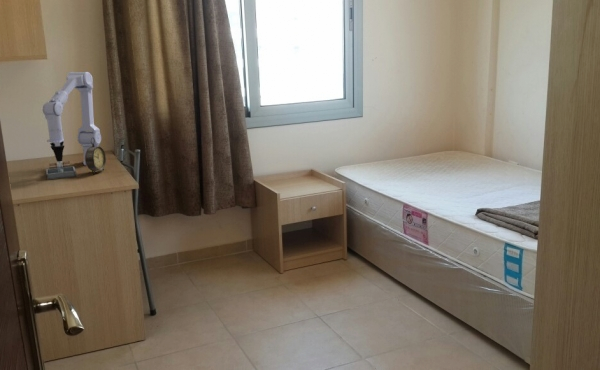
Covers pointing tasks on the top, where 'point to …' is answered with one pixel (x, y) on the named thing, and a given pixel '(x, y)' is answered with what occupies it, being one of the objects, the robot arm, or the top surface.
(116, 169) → the top surface
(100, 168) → the alarm clock
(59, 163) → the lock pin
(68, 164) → the block
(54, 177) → the tray
